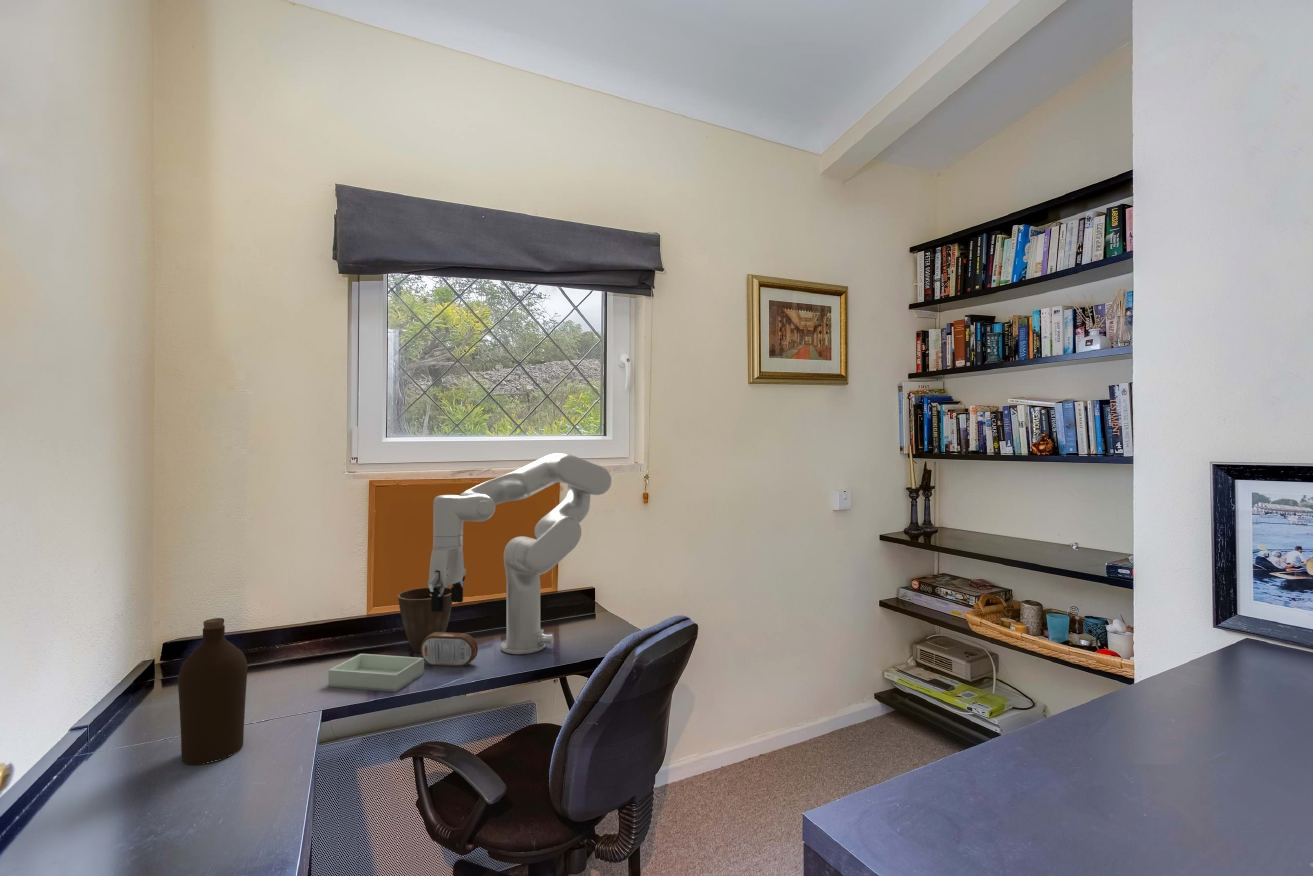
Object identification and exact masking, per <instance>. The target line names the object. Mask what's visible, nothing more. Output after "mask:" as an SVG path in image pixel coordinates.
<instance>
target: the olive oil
mask: <svg viewBox="0 0 1313 876" xmlns="http://www.w3.org/2000/svg"><path fill="white" fill-rule="evenodd" d="M224 624H225V618H224V617H223V618H222V617H215V618H210V619H206V620H205V621H204V620H203V628H202V641H201V643H200V644H199V645H198V646H197V647H196V648H195V649H194V650H193V651H192V652H191V653H190V654H189V655H188V656H187V657H186V659H185V660H184V661H183V662H182V664H181V666H180V669H179V672H178V675H177V688H178V689H177V690H178V702H179V704H178V707H179V720H180V721H179V724H180V748H181V749H180V753H181V755H180V756H181V762H182V763H184V764H186V765H189V764H192V765H193V766H198V765H197V764H201V765H204V764H203V763H207V762H211V761H215V760H219V759H222V760H224V759H223V758H225V757H227V758H229V757H230V756H229V755H231V754H233V753H235V752H237V751H238V750H239V749H240V750H241V749H242V748H243V745H244V732H245V731H244V730H245V713H246V711H245V710H246V696H247V695H246V694H247V682H248V672H249V667H248V661H247V658H246V656H245V653H244V651H242V650H241V649H240V648H238V647H237V646H235V644H233V643H231V642H230V641H229V640H227V638H226V637H225V633H226V632H225V631H226V630H225V629H226V627H225V625H224ZM241 747H242V748H241ZM240 750H239V751H240ZM239 751H238V752H239ZM238 752H237V753H238ZM235 754H236V753H235ZM233 755H234V754H233ZM228 756H229V757H228ZM231 756H232V755H231ZM225 759H226V758H225ZM219 761H220V760H219ZM192 765H191V766H192Z"/></svg>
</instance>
